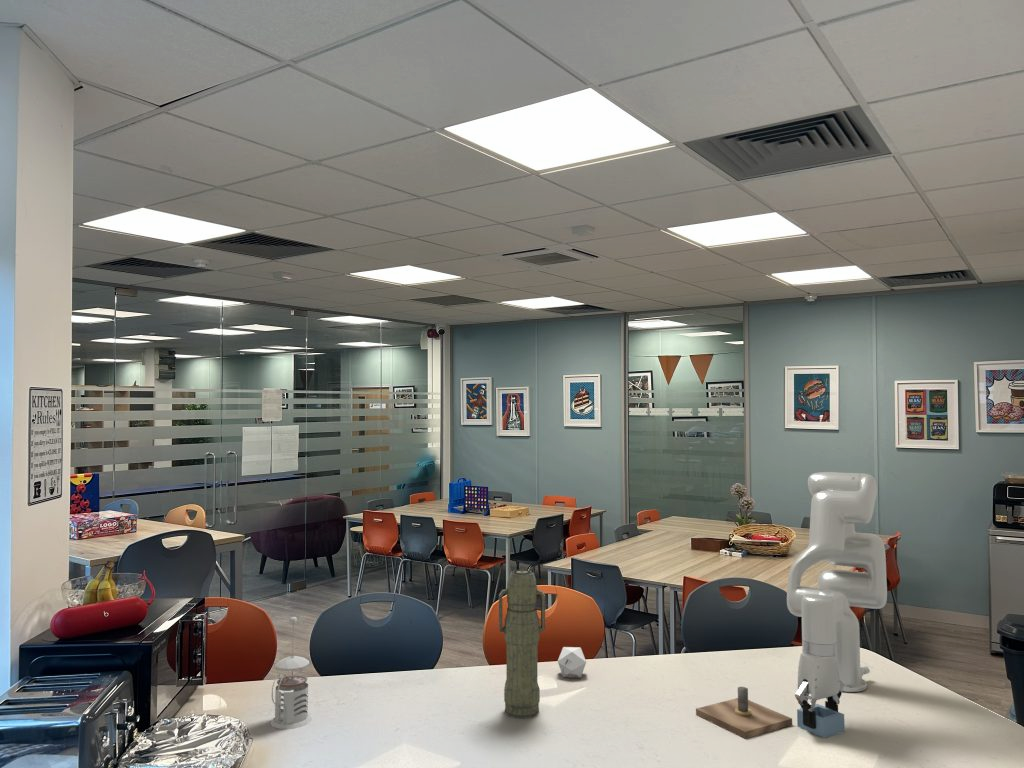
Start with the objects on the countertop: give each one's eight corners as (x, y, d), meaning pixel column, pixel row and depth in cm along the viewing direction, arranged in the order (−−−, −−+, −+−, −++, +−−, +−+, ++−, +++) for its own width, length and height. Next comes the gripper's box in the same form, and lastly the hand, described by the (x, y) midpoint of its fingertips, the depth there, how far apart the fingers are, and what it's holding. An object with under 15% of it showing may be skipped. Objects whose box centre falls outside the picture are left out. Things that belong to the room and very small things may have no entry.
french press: (320, 715, 181) (321, 613, 182) (291, 734, 170) (293, 625, 171) (286, 710, 184) (288, 610, 186) (256, 728, 173) (259, 621, 175)
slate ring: (817, 720, 179) (817, 703, 179) (844, 731, 172) (844, 714, 172) (797, 726, 175) (797, 709, 175) (823, 738, 168) (823, 720, 169)
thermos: (548, 716, 180) (548, 574, 182) (501, 719, 179) (502, 575, 181) (541, 703, 189) (541, 567, 191) (496, 706, 187) (497, 568, 189)
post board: (741, 702, 190) (741, 673, 190) (792, 724, 176) (791, 693, 176) (695, 714, 182) (695, 684, 182) (745, 738, 168) (744, 705, 168)
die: (552, 674, 213) (551, 654, 208) (569, 654, 218) (569, 634, 213) (574, 690, 208) (574, 670, 203) (591, 669, 214) (592, 649, 208)
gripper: (829, 638, 182) (830, 711, 181) (781, 649, 174) (782, 725, 173) (856, 646, 176) (858, 721, 175) (807, 657, 167) (809, 736, 166)
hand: (820, 722), depth 174 cm, fingers closed on slate ring, 7 cm apart
